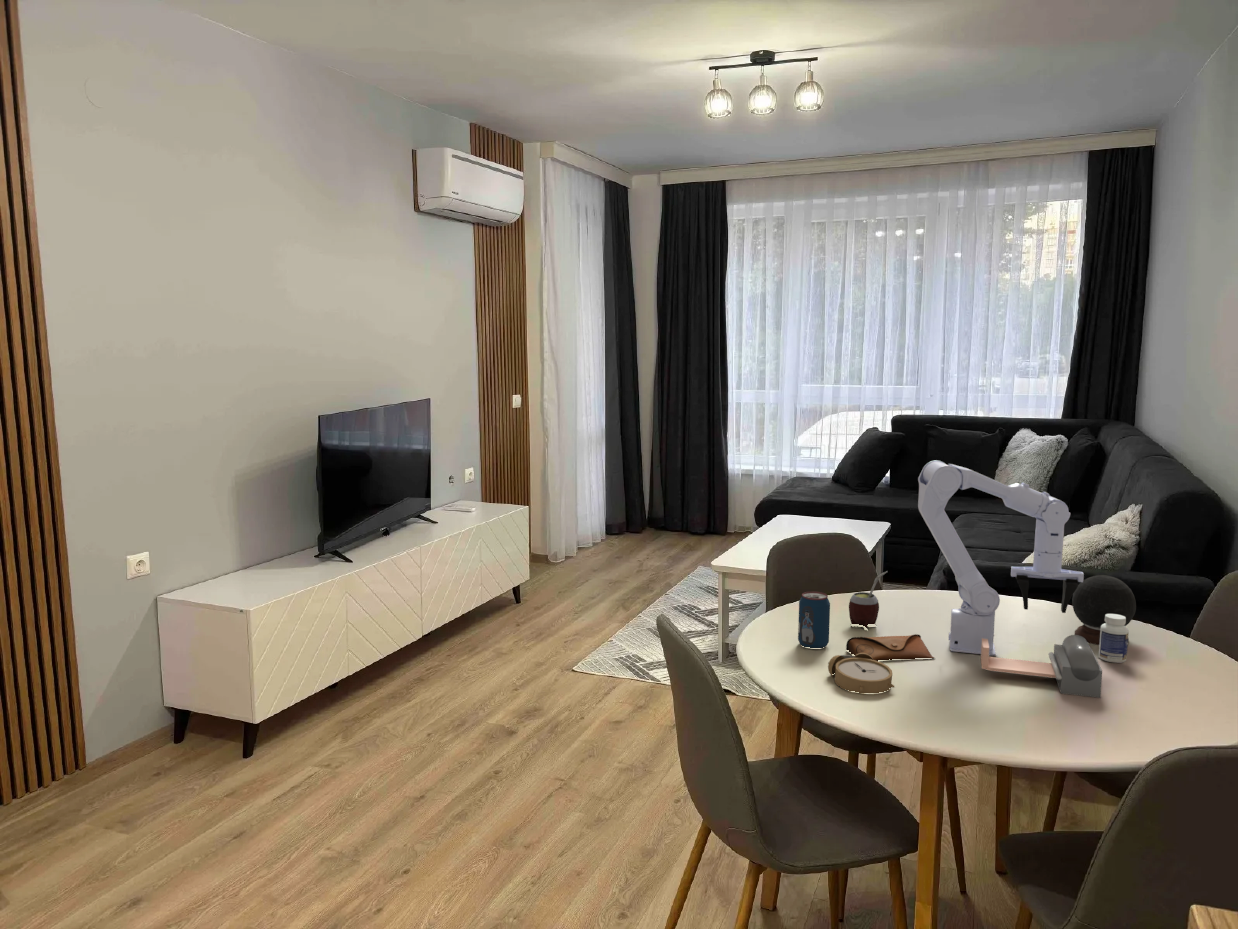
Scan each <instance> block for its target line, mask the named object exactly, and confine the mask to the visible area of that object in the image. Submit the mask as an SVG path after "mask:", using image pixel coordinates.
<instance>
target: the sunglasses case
mask: <svg viewBox="0 0 1238 929" xmlns="http://www.w3.org/2000/svg"><path fill="white" fill-rule="evenodd" d="M845 650H849V652H851V654H854V655H856V654H859V653H866V654H868V655H870V656H871V657H872V658H873V660H876V661H878V660H889V659H890V660H892V659H915V658H935V657H934V656H933V655H932V654H931V652H930V650H929V649H928V647H927V646H926V644H925V642H924V641H923V639H922V636H921V634H917V633H916V634H911V635H890V636H889V635H888V636H887V635H885V636H870V637H866V636H854V637H850V638H849V639H848V640H847V641H846V645H845Z"/></svg>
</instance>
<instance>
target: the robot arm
mask: <svg viewBox="0 0 1238 929" xmlns="http://www.w3.org/2000/svg"><path fill="white" fill-rule="evenodd" d="M917 481H918V498H917V500H918V502H917V507H918V508H917V509H918V512H919V514H920V515H921V517H922V518H923V521H924V522H925V524H926V526H927V527H928V530H929V531H930V533H931V535H932V536H933V538H934V540H935V542H936V543H937V545H938V547H939V549H940V552H942V555H943V556H944V558H945V559H946V561H947V563H948V565H949V566H950V569H951V570H952V573H953V574H954V576H955V577H954V579H955V581H956V584H957V586H958V595H959V598H960V599H961V600H962V603H961V606H960V608H951V611H950V628H949V630H950V632H948V641H949V651H950V650H951V651H950V652H959V653H967V654H974V655H981V644H982V638H983V639H988V643H989V656H991V657H995V656H996V654H997V653H996V647H995V643H994V636H995V634H994V633H995V622H996V610H997V609H998V608H999V606H1000V603H1001V599H1000V595H999V593H998V592H997V590H995V589H994V588H992V587H991V586H989V584H988V582H987V581H986V579H985V578H984V577H983V575H982V574H981V572H980V571H979V570H978V568H977V566H976V564H975V563H974V561H973V560H972V557H971V556H970V554H969V551H968V550H967V548H966V546H965V544H964V543H963V542H962V540H961V538H960V536H959V535H958V532H957V531H956V529H955V527H954V525H953V523H952V522H951V519H950V518H949V516H948V514H947V513H946V511H945V508H946V506H947V504H948V502H949V500H950V499H951V498H952V496H954V494H955V493H957V491H958V490H959V489H960V490H961V491H963V490H967V489H970V488H974V489H977V490H979V491H982V492H983V493H984V492H985V493H987V494H990V495H992V496H995V497H998V498H1001V499H1002V501H1003V504H1004V506H1005V507H1006V508H1009V509H1012V510H1014V511H1017V512H1019V513H1021V514H1024V515H1026V516H1029V517H1032V518H1035V519H1036V520H1035V534H1034V544H1033V545H1034V548H1033V562H1032V566H1010V568H1011V569H1010V577H1011V578H1014V577H1015V579H1016V583H1017V584H1018V587H1019V589H1020V592H1021V596H1022V601H1023V609H1024V610H1028V609H1029V590H1030V589H1029V588H1030V582H1029V580H1030V579H1029V578H1035V579H1049V580H1060V581H1062V598H1061V604H1060V611H1061V613H1062V614H1066V612H1067V608H1068V605H1069V603H1070V600H1072V598H1073V593H1074V592H1075V590H1076V589H1077V587H1078V585H1079V583H1081V582H1083V580H1084V578H1085V576H1084V575H1085V574H1084V572H1083V571H1079V570H1078V571H1077V570H1071V569H1064V568H1062V564H1063V551H1064V549H1063V548H1064V536H1065V524H1066V523H1067V522H1068V521H1069V519H1070V517H1071V512H1069V510H1070V509H1069V507H1068V505H1067V504H1066V502H1064V501H1062V500H1061V499H1058V498H1056V497H1054V496H1051V495H1050V493H1048V492H1046V491H1042V492H1040V491H1038V490H1035V489H1033V488H1031V487H1030V484H1028V483H1026V482H1021V483H1018V482H1014V483H1011V484H1008V485H1007V484H1006V483H1002V482H1000V481H998V480H995V479H993V478H991V477H989V476H986V475H984V474H981V473H979V472H978V471H974V470H973V469H969V468H967V467H965V466H964V467H963V466H959V465H956V464H953V463H948V464H946V463H945V462H944V461H941V460H937V459H936V460H931V461H929V462H927V463H926V464H925V465H924V466H923V467H922V470H921V472H920V473H919V476H918V477H917Z"/></svg>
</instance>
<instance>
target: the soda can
mask: <svg viewBox="0 0 1238 929" xmlns="http://www.w3.org/2000/svg"><path fill="white" fill-rule="evenodd" d="M830 615H831V601H830V600H829V597H828V594H827V593H824V592H821V591H806V592H802V593H801V597H800V599H799V600H798V628H797V630H798V631H797V640H798V642H799V644H800V646H801V645H802V646H804V647H810V648H823V647H825V648H826V647H827V646H828V644H829V642H830V623H831V620H830V619H831V618H830V617H831V616H830ZM802 646H801V647H802ZM804 647H803V648H804Z"/></svg>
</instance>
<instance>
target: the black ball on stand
mask: <svg viewBox="0 0 1238 929" xmlns="http://www.w3.org/2000/svg"><path fill="white" fill-rule="evenodd" d="M1071 600H1072V603H1071V604H1072V608H1073V609H1072V610H1073V612H1074V614H1075V616H1076V618H1077V619H1078V620H1079V622H1080V623H1082V625H1079V626H1077V628H1076V629H1075V630H1074V634H1073V635H1079V636H1082V637H1083V638H1085V639H1086V641H1087V642H1088V644H1093V645H1097V646H1099V643H1100V628H1101V625H1102V624H1104V623H1106V622H1105V615H1106V614H1118V615H1122V616H1124V617H1126V623H1125V625H1124V626H1126V627H1127V625H1129V624H1130V623H1131V622H1132V620H1133V618H1134V616H1135V614H1136V610H1137V602H1136V597H1135V595H1134V593H1133V591H1132V589H1131V588H1130V586H1128V585H1127V584H1126V583H1125V582H1124V581H1122V580H1121V579H1119V578H1118V577H1115V576H1111V575H1106V574H1100V575H1099V574H1098V575H1097V574H1096V575H1093V576H1090V577H1087V578H1085V579H1083V582H1079V583H1078V587H1077V589H1076V590H1075V592H1074V593H1073V595H1072V597H1071ZM1128 642H1129V638H1128Z"/></svg>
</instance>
